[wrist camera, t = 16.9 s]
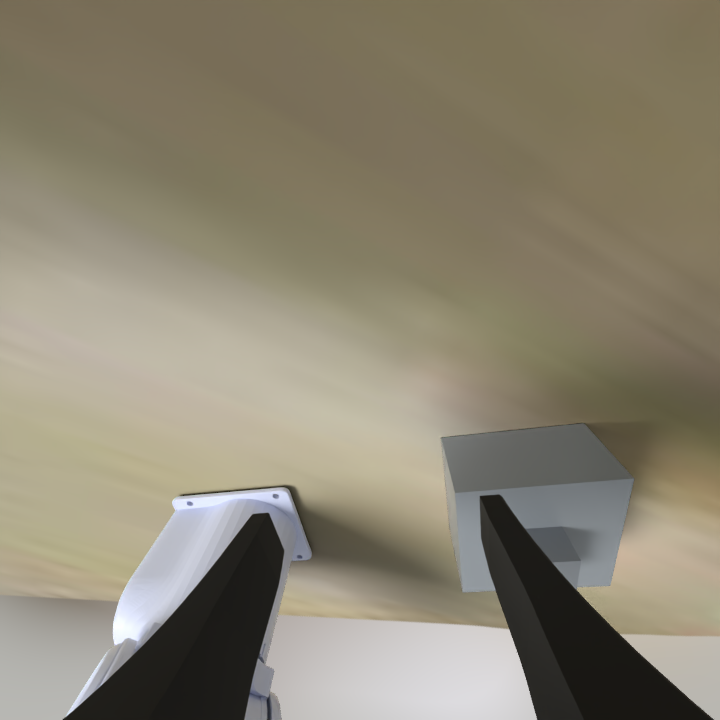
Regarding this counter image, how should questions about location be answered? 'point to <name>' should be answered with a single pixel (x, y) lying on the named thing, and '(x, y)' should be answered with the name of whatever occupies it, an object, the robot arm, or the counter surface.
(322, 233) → the counter surface
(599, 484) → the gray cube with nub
